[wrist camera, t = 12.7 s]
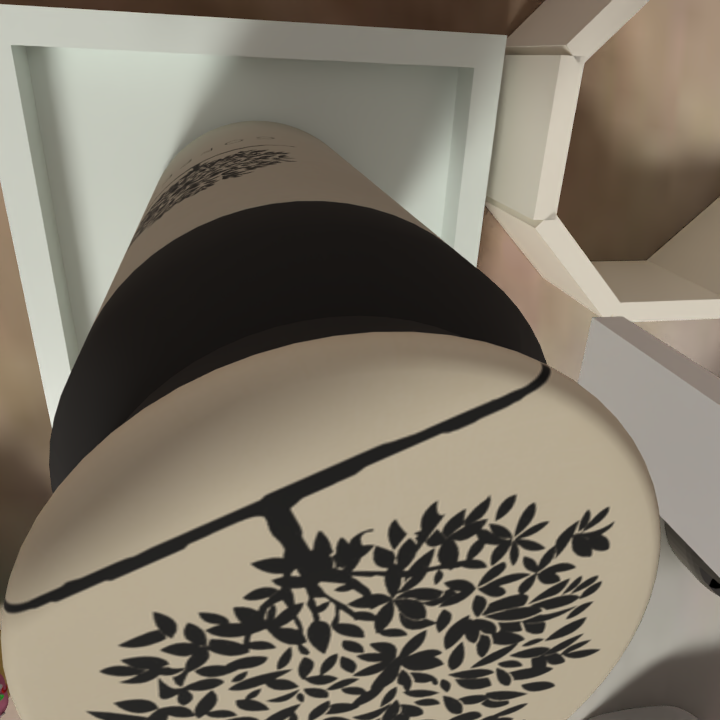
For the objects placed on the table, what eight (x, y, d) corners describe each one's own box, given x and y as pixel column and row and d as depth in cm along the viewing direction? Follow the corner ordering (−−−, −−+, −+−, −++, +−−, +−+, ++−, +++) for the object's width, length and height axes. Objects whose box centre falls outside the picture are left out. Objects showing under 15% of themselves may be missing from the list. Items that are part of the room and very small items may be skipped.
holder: (816, -41, 23) (954, -63, 19) (717, 275, 29) (806, 314, 24) (510, -71, 21) (588, -105, 16) (466, 281, 26) (515, 326, 22)
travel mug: (384, 302, 25) (674, 732, 9) (192, 356, 24) (146, 922, 8) (342, 95, 21) (713, 215, 5) (113, 151, 20) (-243, 483, 5)
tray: (478, 37, 22) (506, 35, 20) (439, 379, 28) (457, 406, 26) (-8, 8, 19) (-37, 2, 17) (67, 400, 25) (53, 434, 23)
